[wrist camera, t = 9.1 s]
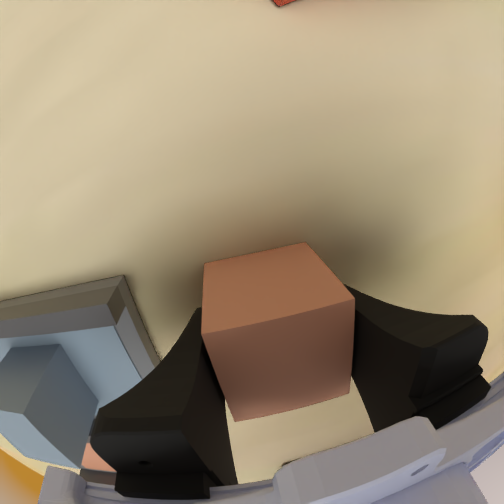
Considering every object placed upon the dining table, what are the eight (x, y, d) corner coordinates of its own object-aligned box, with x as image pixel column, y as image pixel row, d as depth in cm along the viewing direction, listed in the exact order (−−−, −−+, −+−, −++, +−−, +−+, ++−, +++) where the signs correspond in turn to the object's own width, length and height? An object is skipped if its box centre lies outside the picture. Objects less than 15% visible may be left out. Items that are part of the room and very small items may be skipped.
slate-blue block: (98, 401, 13) (80, 469, 9) (47, 399, 13) (25, 456, 8) (60, 343, 12) (22, 414, 7) (10, 347, 11) (-26, 403, 7)
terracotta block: (312, 323, 14) (349, 393, 10) (226, 342, 14) (234, 421, 9) (305, 242, 12) (355, 298, 8) (204, 263, 12) (201, 333, 8)
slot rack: (221, 466, 19) (224, 490, 17) (88, 465, 18) (84, 484, 16) (123, 275, 12) (106, 303, 10) (-34, 308, 11) (-53, 327, 9)
